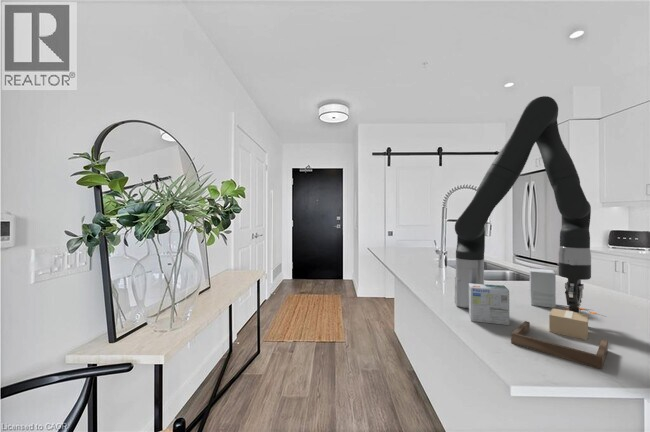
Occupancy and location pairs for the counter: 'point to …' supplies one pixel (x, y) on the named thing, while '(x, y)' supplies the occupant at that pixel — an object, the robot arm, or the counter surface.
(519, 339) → the brown wooden u-shaped piece
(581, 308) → the key chain
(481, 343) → the counter surface
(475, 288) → the light bulb box
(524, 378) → the counter surface
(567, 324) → the kraft carton
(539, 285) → the supplement box
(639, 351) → the counter surface
